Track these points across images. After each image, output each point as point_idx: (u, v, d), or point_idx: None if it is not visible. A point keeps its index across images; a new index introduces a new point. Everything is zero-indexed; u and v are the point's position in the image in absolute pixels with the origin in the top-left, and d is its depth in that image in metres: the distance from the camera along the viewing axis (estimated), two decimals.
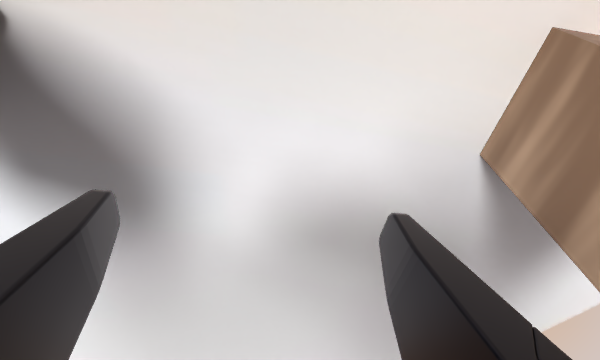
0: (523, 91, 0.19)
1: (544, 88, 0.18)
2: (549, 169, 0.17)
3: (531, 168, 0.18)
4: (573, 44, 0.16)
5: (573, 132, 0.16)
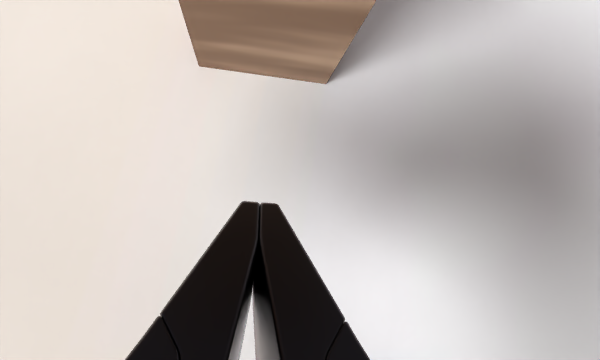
0: (253, 70, 0.21)
1: (241, 59, 0.19)
2: (302, 39, 0.17)
3: (310, 49, 0.18)
4: (200, 52, 0.19)
5: (259, 33, 0.17)
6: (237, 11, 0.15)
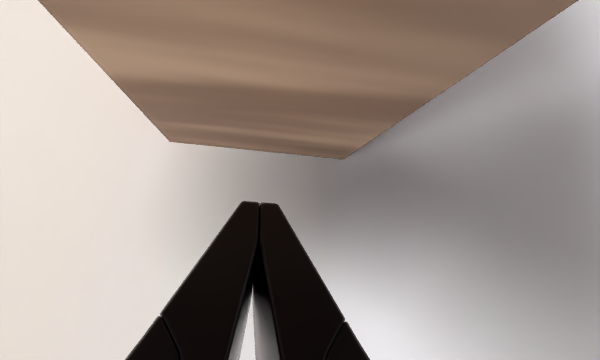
0: (244, 146, 0.15)
1: (227, 138, 0.14)
2: (314, 123, 0.11)
3: (326, 132, 0.12)
4: (168, 131, 0.13)
5: (250, 117, 0.11)
6: (212, 96, 0.09)
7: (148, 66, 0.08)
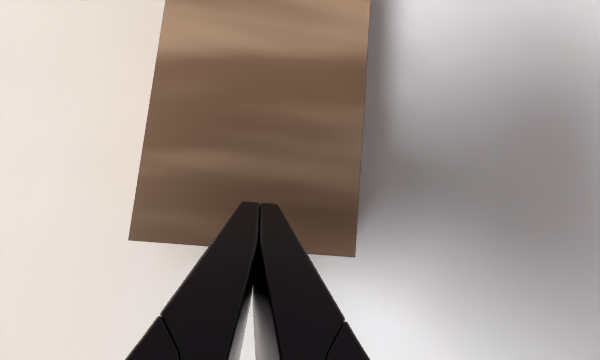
0: None
1: (213, 195, 0.12)
2: (302, 122, 0.13)
3: (316, 146, 0.13)
4: (146, 186, 0.12)
5: (247, 117, 0.13)
6: (224, 76, 0.13)
7: (193, 35, 0.13)
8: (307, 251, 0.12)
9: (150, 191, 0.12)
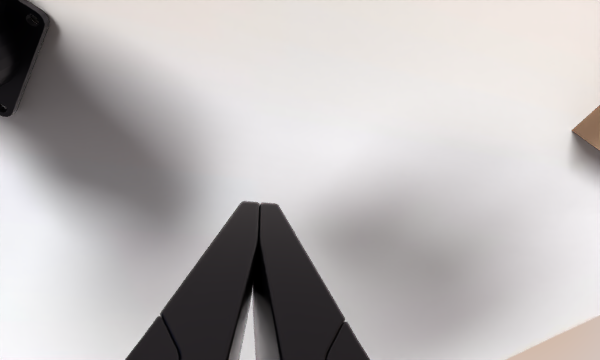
0: None
1: None
2: None
3: None
4: None
5: None
6: None
7: None
8: None
9: None
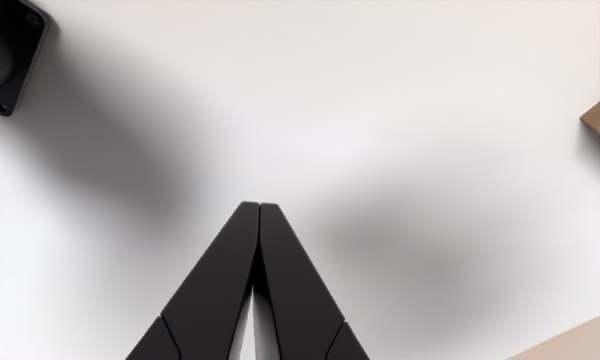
0: None
1: None
2: None
3: None
4: None
5: None
6: None
7: None
8: None
9: None
